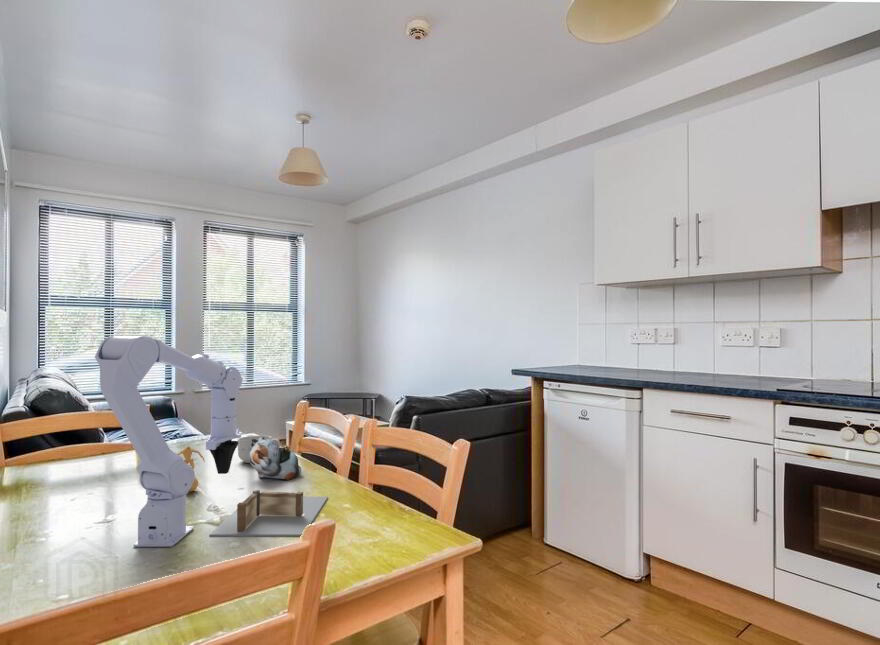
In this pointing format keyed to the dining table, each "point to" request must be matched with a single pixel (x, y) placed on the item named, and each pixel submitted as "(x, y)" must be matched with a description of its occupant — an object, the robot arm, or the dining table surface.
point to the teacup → (246, 447)
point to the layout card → (274, 522)
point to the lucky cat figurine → (273, 460)
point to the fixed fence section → (248, 511)
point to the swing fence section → (281, 503)
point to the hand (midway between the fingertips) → (223, 472)
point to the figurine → (187, 455)
